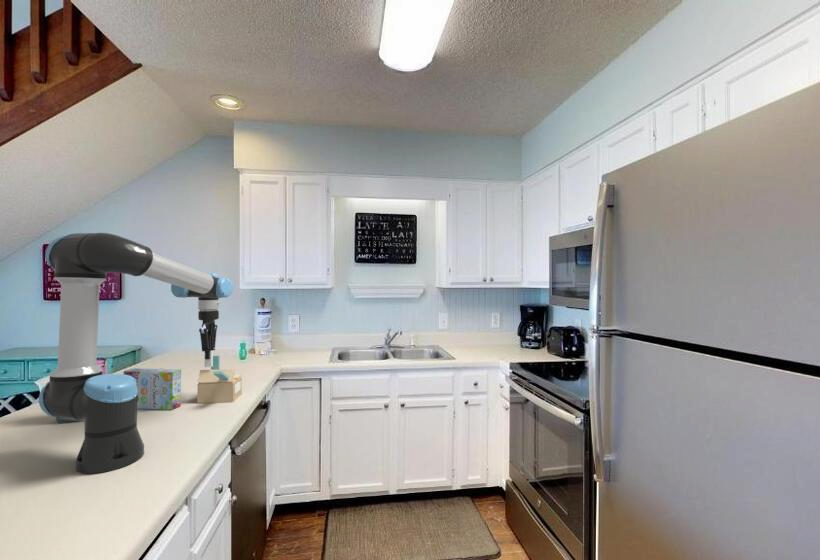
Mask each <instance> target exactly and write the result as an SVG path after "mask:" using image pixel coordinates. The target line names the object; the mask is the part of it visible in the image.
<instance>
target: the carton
mask: <svg viewBox="0 0 820 560" xmlns="http://www.w3.org/2000/svg"><path fill="white" fill-rule="evenodd" d="M242 376H243V375H241V377H240V378H238V379H234V381H233V382H213V383H198V382H197V404H218V403H219V404H220V403H222V404H223V403H234V402H235V401H236V400H237V399H238V398H239V397H241V396H242V394H243V393H242V390H243V389H242V388H243V386H242V385H243V384H242V383H243V382H242V380H243V377H242Z"/></svg>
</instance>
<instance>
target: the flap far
mask: <svg viewBox="0 0 820 560" xmlns="http://www.w3.org/2000/svg"><path fill="white" fill-rule="evenodd" d="M220 358H221V357H220V355H219V354H217V355H213V366H212V367H210V370H221V369H220V368H221V366H220V364H221V363H220V362H221V361H220V360H221V359H220ZM241 376H242V374H235V375H234V379H238V378H240V377H241Z"/></svg>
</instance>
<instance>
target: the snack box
mask: <svg viewBox="0 0 820 560" xmlns="http://www.w3.org/2000/svg"><path fill="white" fill-rule="evenodd" d="M123 374H125V375H129V376H132V377H133V378H134V379H135V380H136V384H137V389H138V392H137V410H139V409H140V410H168V411H172V410H175V409H177V408H179V407H181V405H182V404H181V403H182V401H181V400H182V399H181V398H182V397H181V396H182V393H181V392H182V369H181V368H136V367H135V368H134V367H133V368H129V369H126V370H124V371H123Z"/></svg>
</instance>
